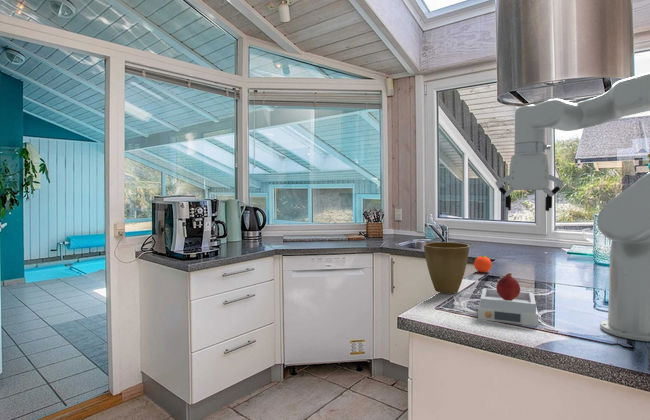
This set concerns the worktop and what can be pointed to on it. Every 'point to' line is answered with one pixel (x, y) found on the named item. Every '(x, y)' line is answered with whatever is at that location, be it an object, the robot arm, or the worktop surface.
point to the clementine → (482, 264)
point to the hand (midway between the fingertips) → (527, 210)
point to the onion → (508, 287)
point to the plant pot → (446, 265)
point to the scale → (508, 308)
